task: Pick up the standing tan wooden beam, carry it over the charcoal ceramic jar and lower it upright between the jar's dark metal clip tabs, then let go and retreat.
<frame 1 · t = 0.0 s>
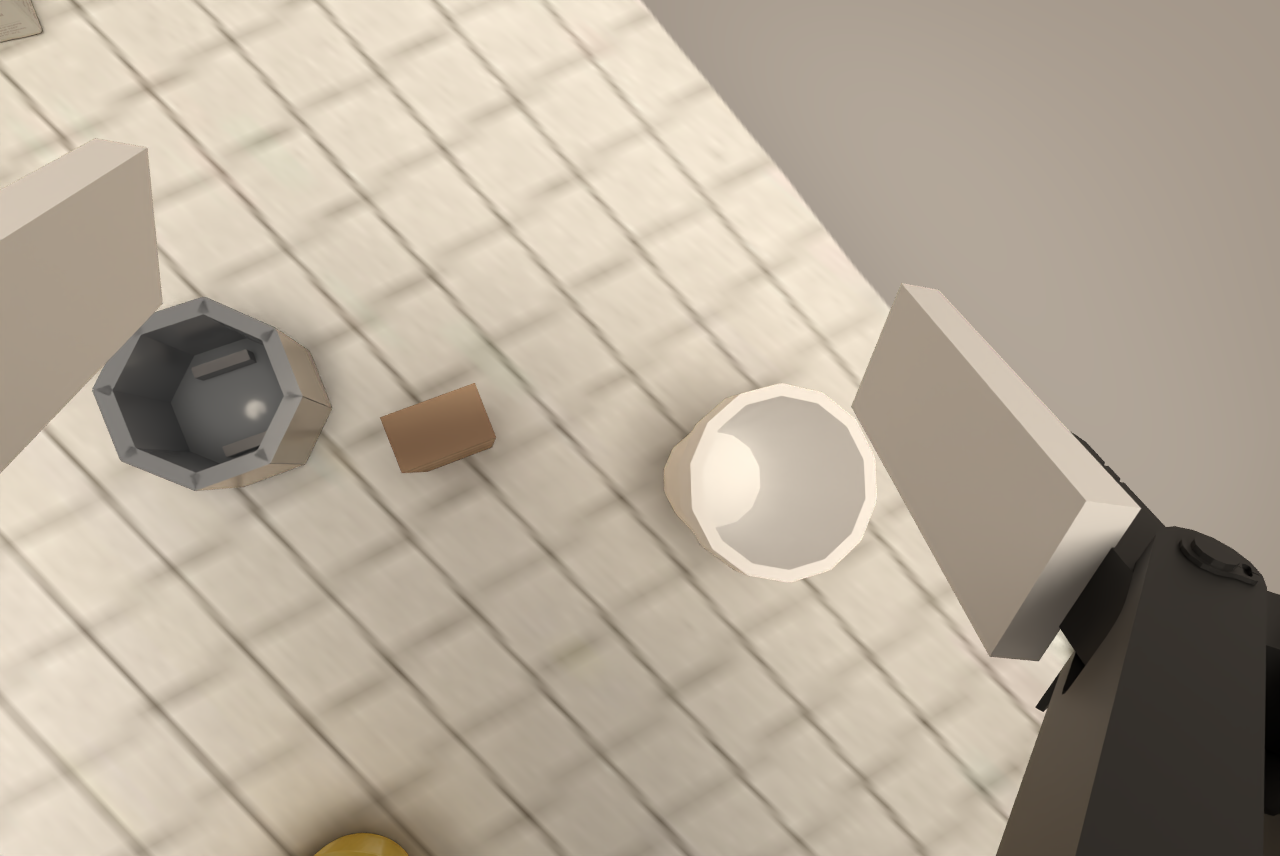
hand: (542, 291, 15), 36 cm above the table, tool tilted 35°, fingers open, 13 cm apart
tan wooden beam: (452, 440, 50), on the table
foam cup: (711, 479, 53), on the table
jar: (246, 405, 48), on the table
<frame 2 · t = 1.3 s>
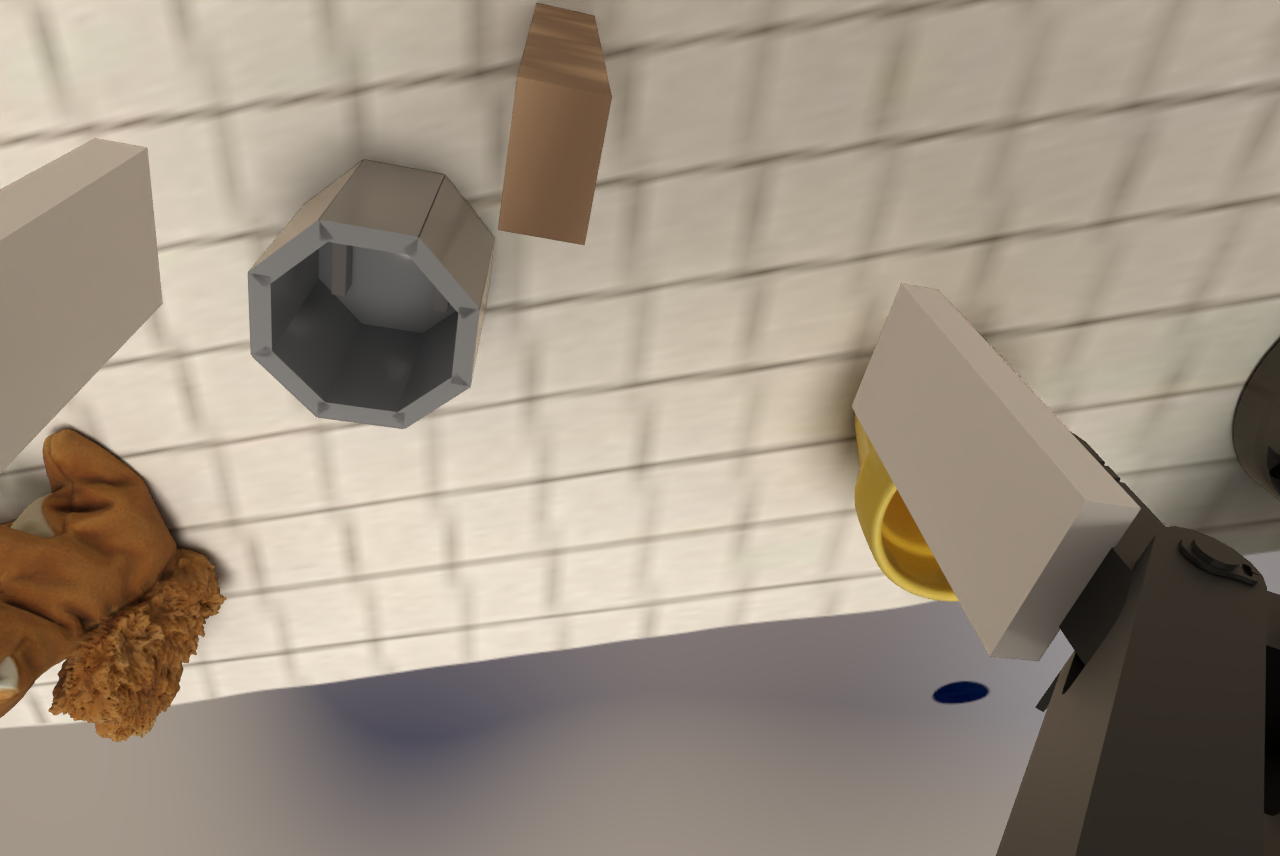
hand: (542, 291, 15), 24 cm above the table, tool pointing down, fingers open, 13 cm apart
tan wooden beam: (558, 60, 35), on the table
plant pot: (909, 408, 47), on the table
jar: (399, 257, 40), on the table
stuffed squirrel: (126, 537, 48), on the table
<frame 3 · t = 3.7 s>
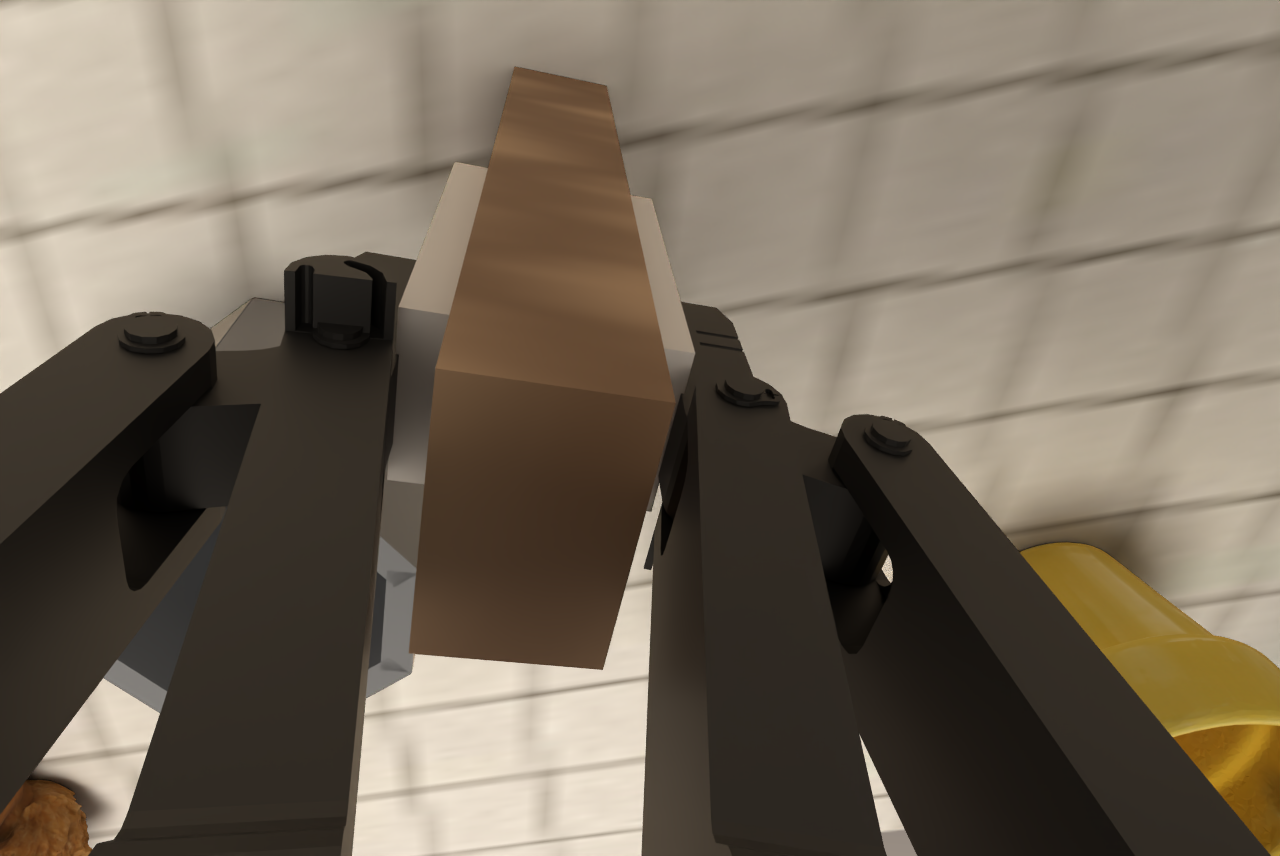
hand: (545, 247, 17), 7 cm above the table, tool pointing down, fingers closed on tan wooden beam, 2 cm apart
tan wooden beam: (549, 153, 23), on the table, touching gripper
plant pot: (1032, 598, 34), on the table
jar: (315, 428, 27), on the table
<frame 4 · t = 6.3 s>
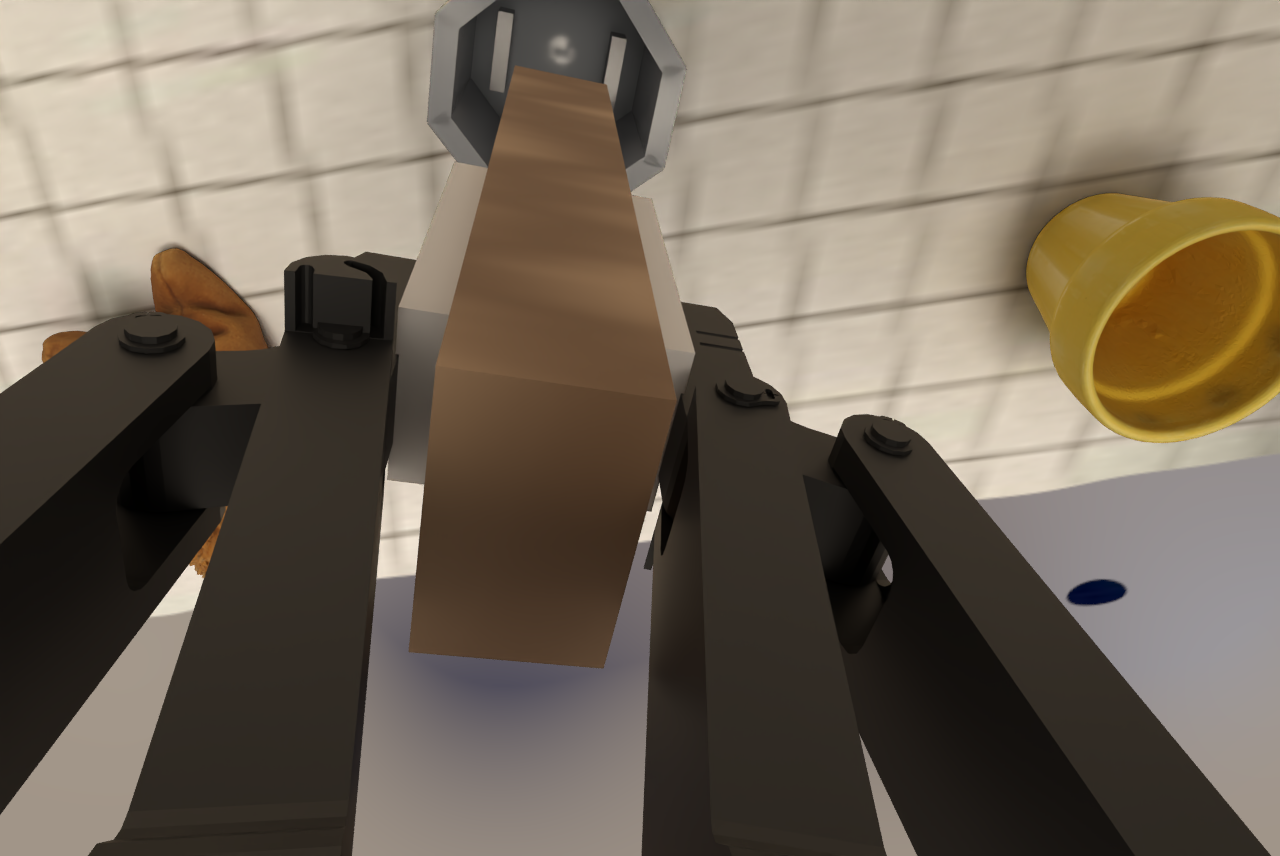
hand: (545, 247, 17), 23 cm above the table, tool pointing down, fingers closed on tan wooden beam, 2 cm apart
tan wooden beam: (549, 152, 23), point 16 cm above the table, touching gripper
plant pot: (1084, 254, 43), on the table
jar: (557, 56, 36), on the table
stuffed squirrel: (229, 385, 44), on the table
when the fingers open (9 cm above the table, at t = 9.2 s): tan wooden beam drops 1 cm, resting on jar.
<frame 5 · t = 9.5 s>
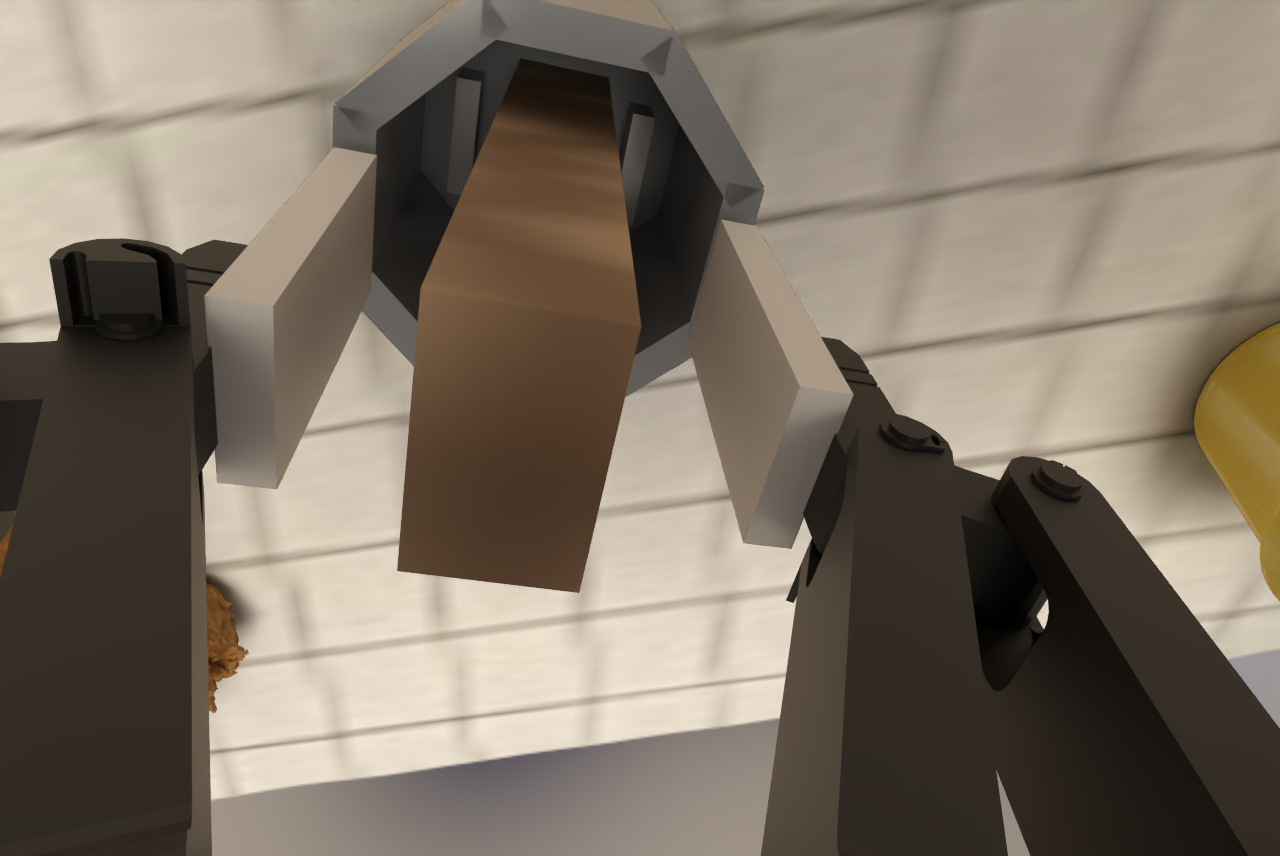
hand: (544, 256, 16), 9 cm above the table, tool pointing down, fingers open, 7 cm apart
tan wooden beam: (553, 142, 24), point 1 cm above the table, touching jar
plant pot: (1273, 388, 31), on the table
jar: (550, 137, 24), on the table
stuffed squirrel: (97, 559, 32), on the table
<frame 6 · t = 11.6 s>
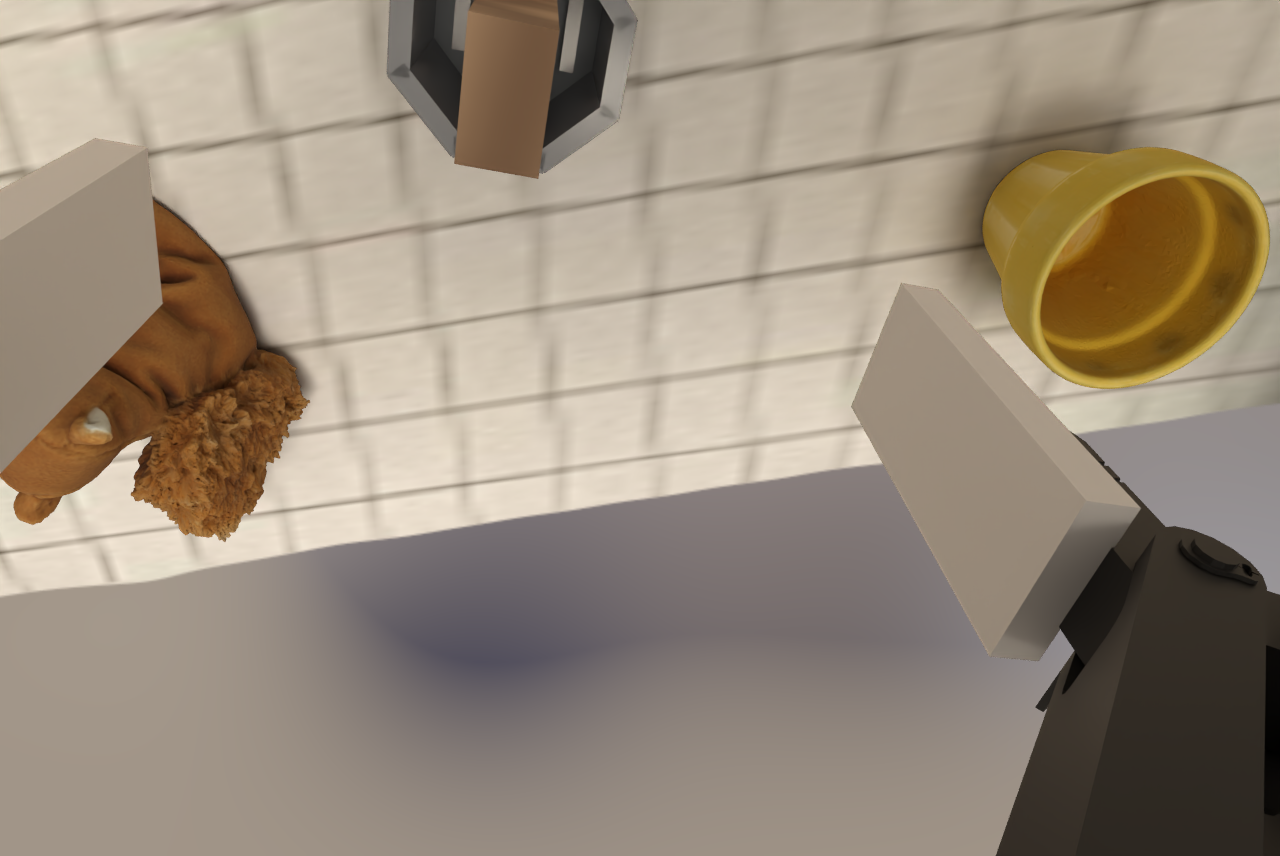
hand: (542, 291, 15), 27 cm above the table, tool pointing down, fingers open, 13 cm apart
tan wooden beam: (520, 18, 36), point 1 cm above the table, touching jar
plant pot: (1038, 211, 44), on the table
jar: (518, 17, 37), on the table
stuffed squirrel: (200, 336, 44), on the table
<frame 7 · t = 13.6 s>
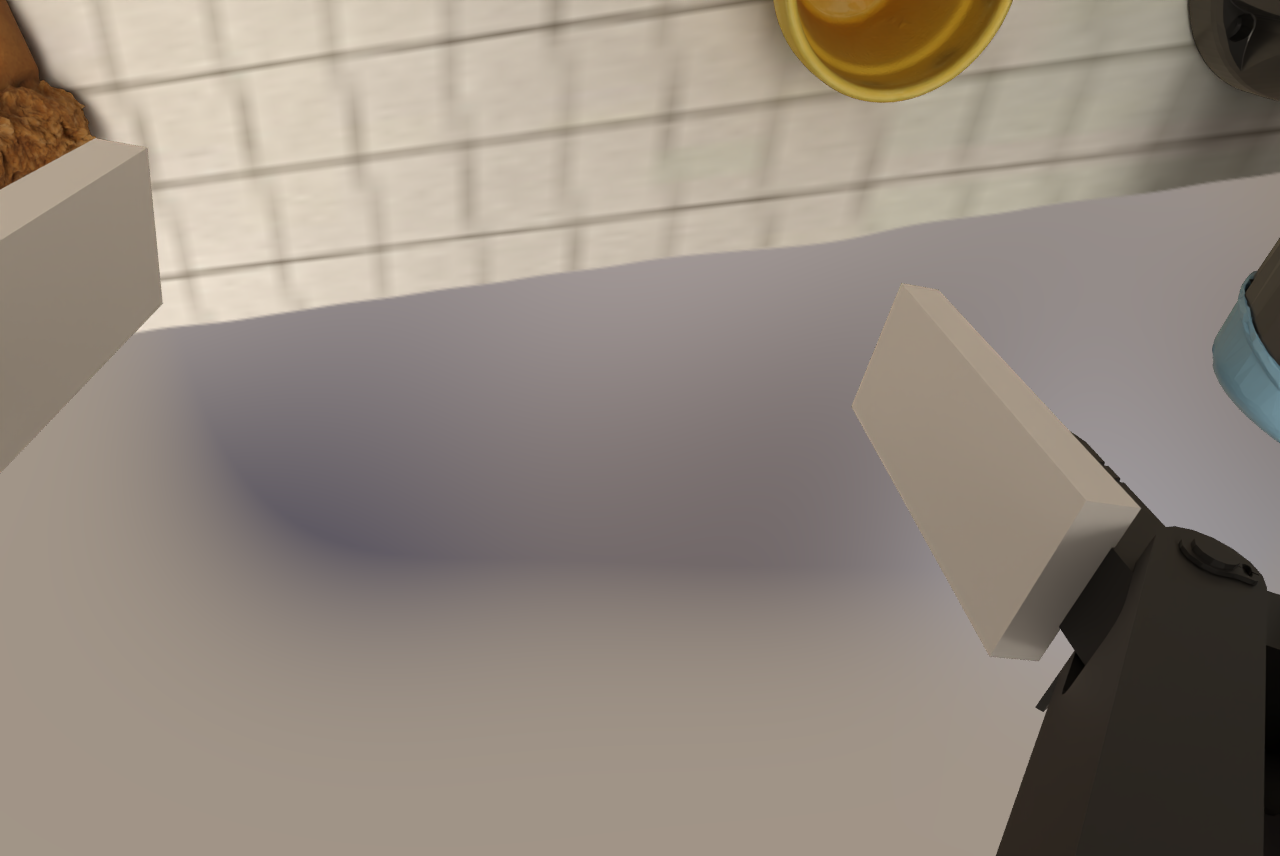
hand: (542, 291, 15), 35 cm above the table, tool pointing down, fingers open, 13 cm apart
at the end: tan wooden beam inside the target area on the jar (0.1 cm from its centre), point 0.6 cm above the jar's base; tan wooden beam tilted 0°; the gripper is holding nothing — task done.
